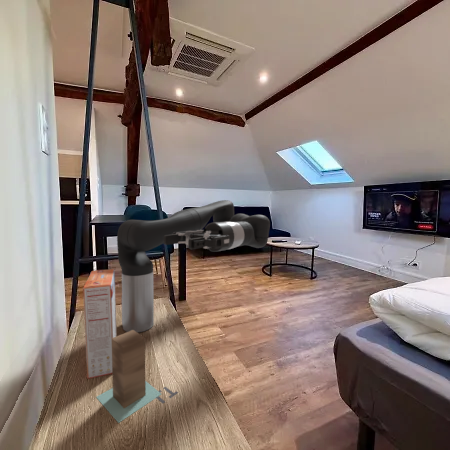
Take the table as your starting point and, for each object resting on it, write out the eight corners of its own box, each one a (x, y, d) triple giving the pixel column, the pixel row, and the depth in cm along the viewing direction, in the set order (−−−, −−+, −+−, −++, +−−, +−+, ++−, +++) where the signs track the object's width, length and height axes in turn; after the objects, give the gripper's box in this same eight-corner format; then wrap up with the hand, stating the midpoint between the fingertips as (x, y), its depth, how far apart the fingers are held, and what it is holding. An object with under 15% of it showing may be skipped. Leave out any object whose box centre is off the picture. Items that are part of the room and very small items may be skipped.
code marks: (152, 395, 51) (152, 394, 51) (168, 385, 54) (168, 384, 54) (162, 404, 49) (162, 403, 49) (178, 393, 52) (178, 392, 52)
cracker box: (93, 346, 68) (90, 269, 66) (117, 342, 70) (115, 268, 68) (84, 380, 55) (81, 286, 53) (115, 374, 57) (112, 283, 55)
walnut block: (112, 396, 50) (111, 338, 49) (133, 384, 54) (133, 329, 53) (124, 408, 48) (122, 347, 47) (145, 395, 51) (144, 337, 50)
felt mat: (96, 397, 50) (96, 396, 50) (137, 374, 57) (137, 374, 57) (118, 423, 44) (118, 422, 44) (161, 394, 51) (161, 393, 51)
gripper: (245, 253, 64) (198, 264, 52) (205, 246, 73) (157, 254, 61) (246, 223, 63) (198, 227, 51) (205, 220, 73) (157, 223, 60)
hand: (176, 242), depth 56 cm, fingers open, 8 cm apart
